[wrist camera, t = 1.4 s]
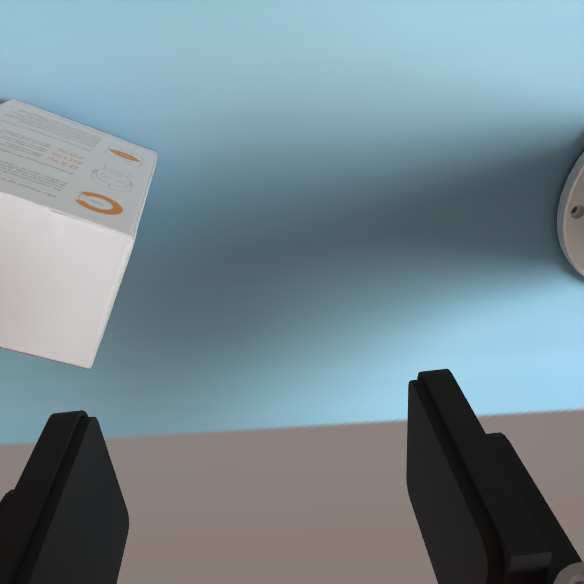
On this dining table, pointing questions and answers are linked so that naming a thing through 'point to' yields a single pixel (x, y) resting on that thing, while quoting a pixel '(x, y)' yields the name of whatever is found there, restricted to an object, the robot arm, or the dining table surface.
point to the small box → (64, 230)
